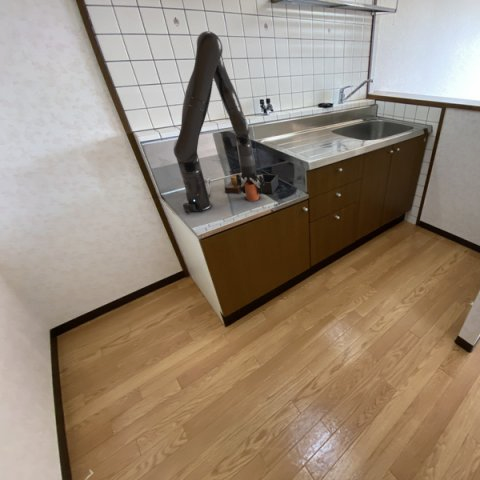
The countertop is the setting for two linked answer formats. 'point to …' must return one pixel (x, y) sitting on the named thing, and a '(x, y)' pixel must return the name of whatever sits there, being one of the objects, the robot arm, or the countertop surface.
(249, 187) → the cup
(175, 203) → the countertop surface
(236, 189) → the tap block
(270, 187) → the basin
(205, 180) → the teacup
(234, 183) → the tap knob
